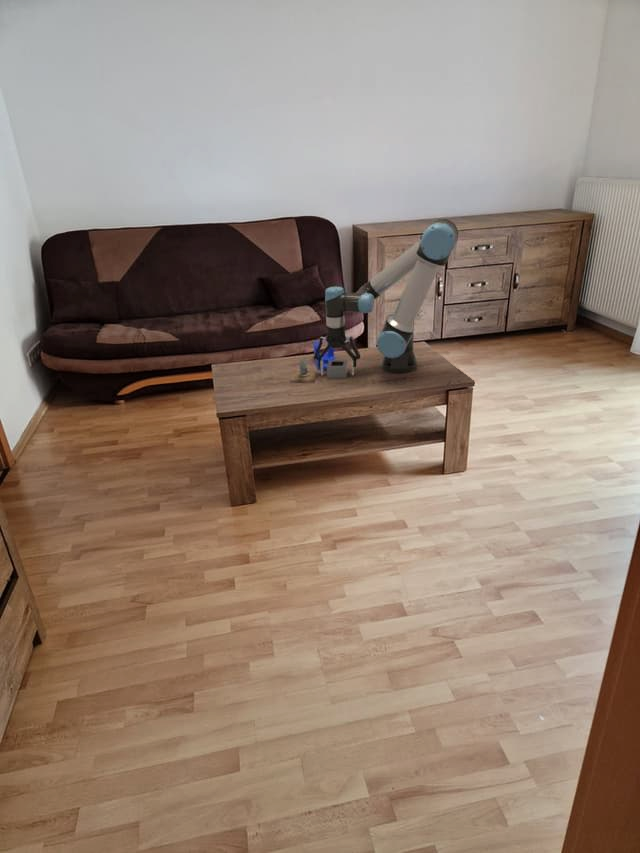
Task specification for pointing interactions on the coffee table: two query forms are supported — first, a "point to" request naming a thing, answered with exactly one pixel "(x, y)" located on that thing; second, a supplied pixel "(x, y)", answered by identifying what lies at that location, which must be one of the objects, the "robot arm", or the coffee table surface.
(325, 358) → the bracket
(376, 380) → the coffee table surface
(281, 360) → the coffee table surface
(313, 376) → the peg stand
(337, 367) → the gray square frame
